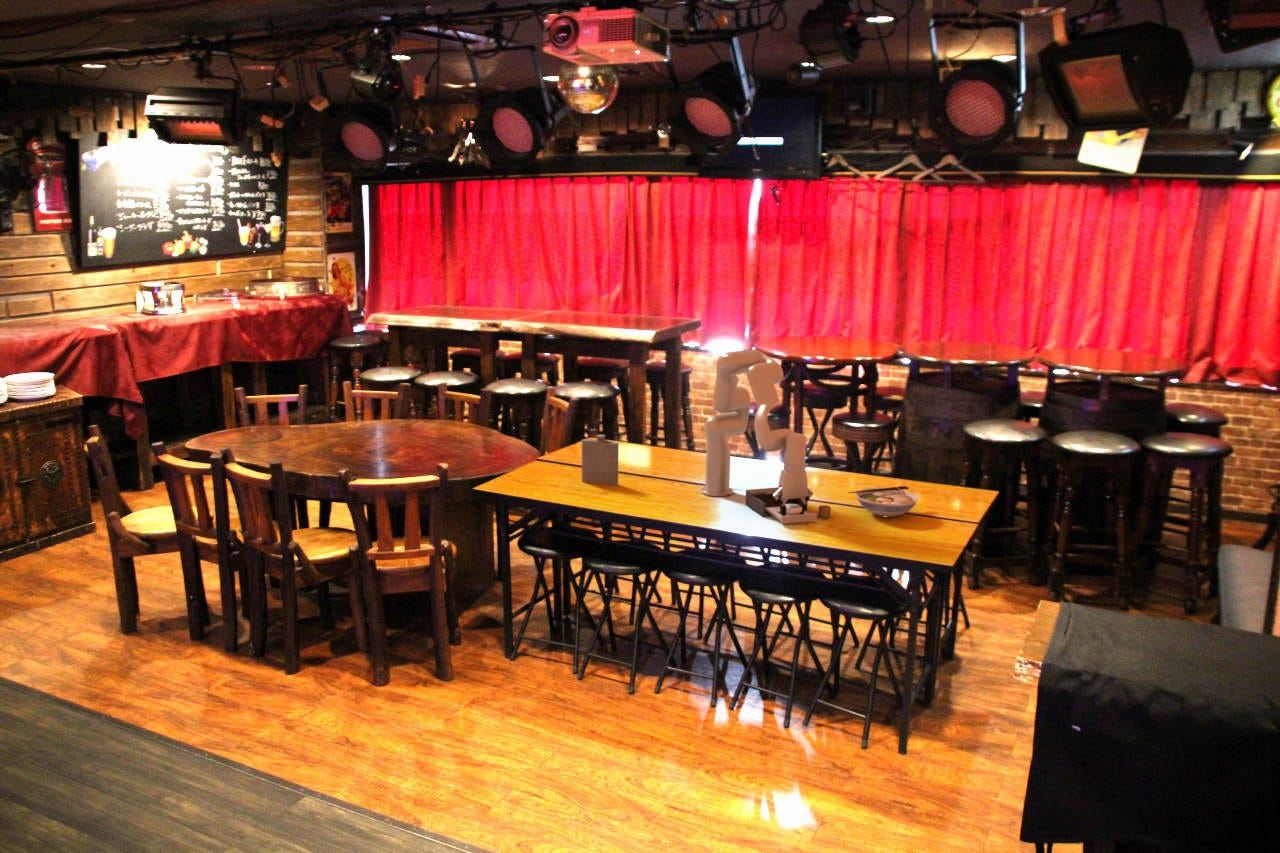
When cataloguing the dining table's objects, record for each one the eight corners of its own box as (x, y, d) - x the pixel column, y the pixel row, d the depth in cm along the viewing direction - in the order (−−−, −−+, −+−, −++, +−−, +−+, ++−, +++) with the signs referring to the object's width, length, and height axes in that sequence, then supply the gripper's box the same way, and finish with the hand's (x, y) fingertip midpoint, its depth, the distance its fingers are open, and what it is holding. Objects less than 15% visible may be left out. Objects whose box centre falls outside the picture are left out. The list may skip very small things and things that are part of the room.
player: (745, 505, 400) (746, 489, 399) (788, 501, 406) (788, 486, 404) (762, 517, 385) (763, 501, 384) (806, 513, 391) (807, 497, 390)
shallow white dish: (779, 508, 384) (779, 504, 384) (796, 507, 386) (796, 502, 386) (787, 514, 378) (787, 510, 377) (805, 512, 380) (805, 508, 380)
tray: (763, 511, 389) (763, 504, 389) (797, 508, 394) (797, 501, 393) (781, 523, 375) (782, 516, 374) (816, 520, 379) (817, 513, 378)
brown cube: (816, 516, 388) (816, 505, 387) (826, 515, 389) (827, 504, 388) (821, 519, 384) (822, 509, 383) (832, 518, 385) (832, 508, 384)
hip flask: (580, 481, 429) (580, 434, 425) (584, 479, 433) (584, 432, 429) (616, 486, 424) (616, 438, 419) (620, 483, 427) (620, 436, 423)
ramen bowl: (870, 526, 377) (871, 504, 375) (841, 508, 398) (842, 487, 396) (931, 521, 384) (933, 500, 382) (899, 503, 405) (901, 483, 403)
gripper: (811, 463, 385) (808, 510, 389) (768, 466, 379) (766, 513, 383) (820, 468, 378) (818, 515, 382) (776, 471, 372) (774, 519, 376)
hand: (792, 514), depth 382 cm, fingers closed on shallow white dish, 6 cm apart
